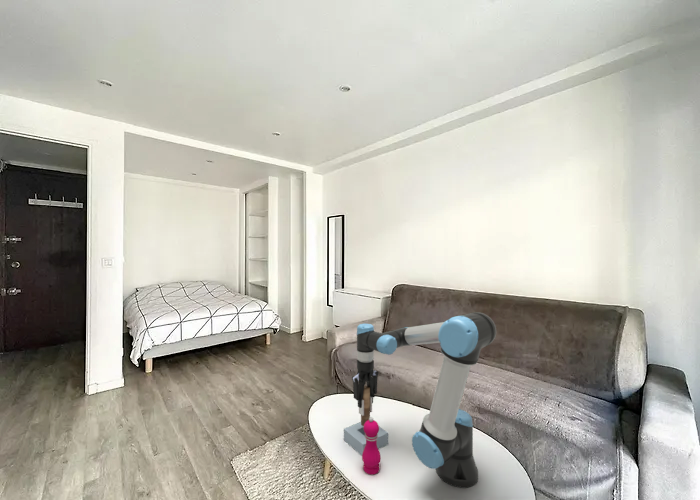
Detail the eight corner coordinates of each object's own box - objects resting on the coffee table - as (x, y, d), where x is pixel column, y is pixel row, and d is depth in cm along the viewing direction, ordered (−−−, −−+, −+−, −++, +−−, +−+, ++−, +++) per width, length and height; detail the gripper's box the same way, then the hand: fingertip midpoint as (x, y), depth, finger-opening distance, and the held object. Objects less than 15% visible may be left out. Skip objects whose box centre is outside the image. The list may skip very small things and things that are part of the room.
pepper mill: (365, 477, 114) (365, 423, 114) (359, 464, 121) (359, 413, 121) (383, 473, 116) (383, 420, 116) (376, 461, 123) (376, 411, 123)
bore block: (388, 444, 133) (388, 432, 133) (363, 456, 125) (363, 444, 125) (368, 429, 145) (368, 418, 145) (343, 440, 136) (343, 428, 136)
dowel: (371, 425, 135) (371, 388, 135) (364, 428, 132) (364, 390, 132) (366, 421, 138) (366, 384, 138) (359, 424, 136) (359, 387, 136)
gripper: (374, 353, 143) (374, 403, 143) (344, 361, 133) (344, 414, 133) (385, 358, 137) (385, 410, 137) (355, 366, 127) (355, 422, 127)
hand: (365, 412), depth 135 cm, fingers closed on dowel, 4 cm apart
